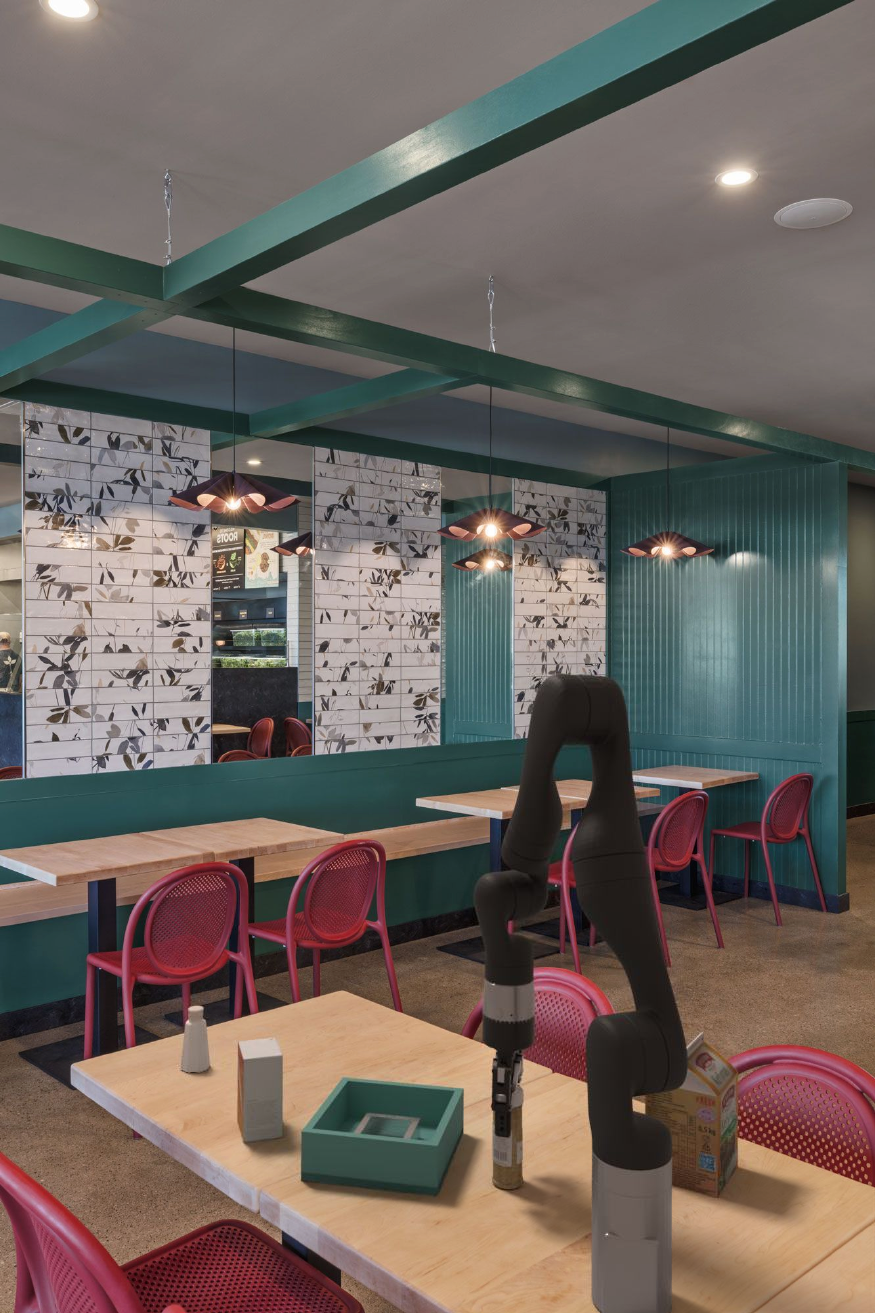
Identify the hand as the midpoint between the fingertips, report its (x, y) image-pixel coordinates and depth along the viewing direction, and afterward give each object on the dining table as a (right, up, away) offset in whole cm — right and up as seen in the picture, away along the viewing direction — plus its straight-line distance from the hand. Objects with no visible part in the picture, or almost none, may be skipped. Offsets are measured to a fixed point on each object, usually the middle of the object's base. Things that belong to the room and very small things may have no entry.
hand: (507, 1122), depth 146 cm
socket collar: (-18, -7, +7) cm, 21 cm away
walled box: (-18, -8, +7) cm, 21 cm away
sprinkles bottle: (0, -9, -1) cm, 9 cm away
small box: (-38, -9, +16) cm, 43 cm away
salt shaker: (-55, -9, +41) cm, 69 cm away
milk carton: (+27, -9, +3) cm, 29 cm away
